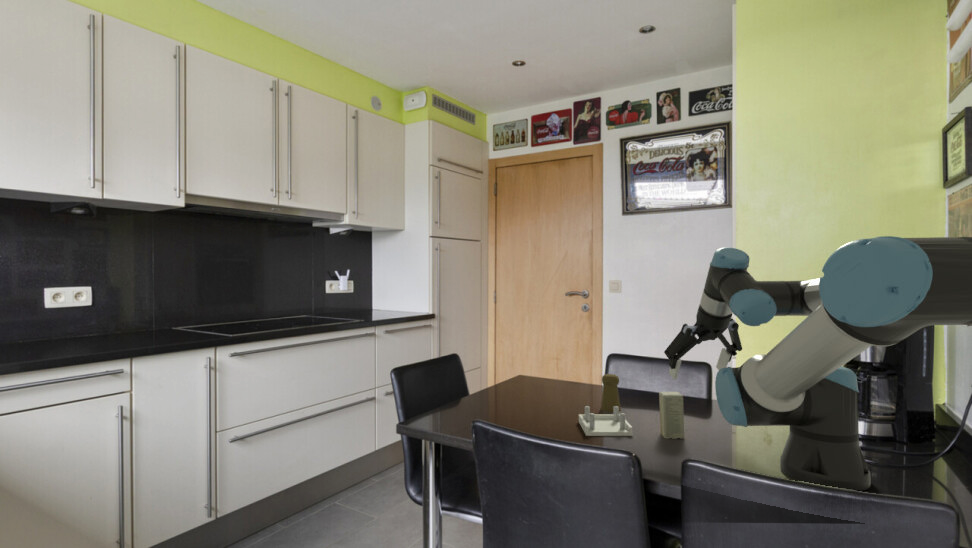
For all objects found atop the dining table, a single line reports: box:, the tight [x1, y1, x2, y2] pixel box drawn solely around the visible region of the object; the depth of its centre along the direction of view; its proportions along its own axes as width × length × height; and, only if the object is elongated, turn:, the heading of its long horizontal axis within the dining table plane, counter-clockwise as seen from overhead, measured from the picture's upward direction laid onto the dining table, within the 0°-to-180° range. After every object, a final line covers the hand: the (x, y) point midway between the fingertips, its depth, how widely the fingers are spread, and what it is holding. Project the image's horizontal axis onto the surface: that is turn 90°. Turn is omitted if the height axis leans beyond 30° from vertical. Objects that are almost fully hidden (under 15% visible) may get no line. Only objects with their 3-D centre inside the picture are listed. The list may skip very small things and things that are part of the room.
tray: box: [578, 405, 634, 437], centre depth 130 cm, size 12×12×5 cm
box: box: [658, 391, 685, 439], centre depth 124 cm, size 5×4×11 cm
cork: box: [600, 373, 622, 414], centre depth 149 cm, size 6×6×11 cm
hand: (696, 373), depth 127 cm, fingers open, 13 cm apart
